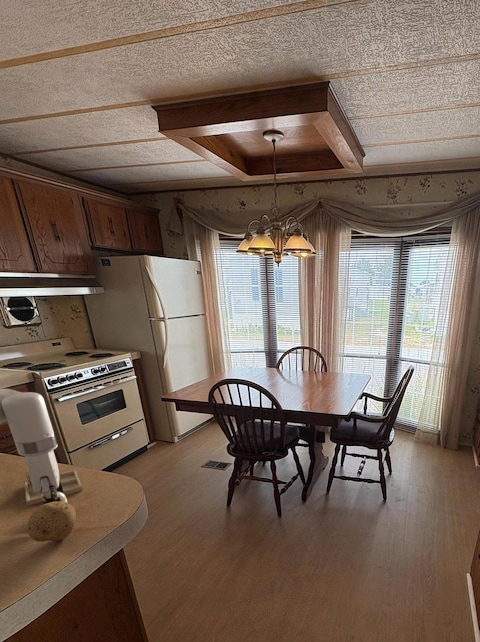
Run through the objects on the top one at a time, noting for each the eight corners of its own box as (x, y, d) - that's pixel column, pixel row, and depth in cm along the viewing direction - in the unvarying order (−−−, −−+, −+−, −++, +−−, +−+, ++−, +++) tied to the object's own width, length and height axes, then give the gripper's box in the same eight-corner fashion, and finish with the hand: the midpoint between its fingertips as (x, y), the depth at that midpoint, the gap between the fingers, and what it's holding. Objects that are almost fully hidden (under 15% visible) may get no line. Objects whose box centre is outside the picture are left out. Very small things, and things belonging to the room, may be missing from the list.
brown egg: (27, 491, 99) (20, 472, 96) (35, 484, 103) (29, 465, 100) (45, 490, 100) (38, 471, 97) (52, 482, 104) (46, 464, 101)
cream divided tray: (28, 506, 93) (26, 501, 92) (25, 487, 101) (24, 482, 101) (83, 491, 100) (81, 486, 100) (76, 474, 109) (75, 469, 109)
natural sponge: (49, 558, 76) (36, 521, 72) (25, 546, 79) (11, 510, 75) (89, 534, 83) (79, 499, 80) (66, 524, 87) (55, 490, 83)
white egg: (53, 520, 88) (46, 499, 85) (47, 514, 90) (40, 493, 88) (72, 513, 91) (66, 492, 88) (67, 506, 93) (60, 486, 91)
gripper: (20, 434, 87) (39, 492, 94) (12, 461, 74) (35, 525, 81) (56, 429, 91) (73, 484, 98) (55, 453, 78) (74, 515, 85)
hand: (56, 503), depth 89 cm, fingers open, 9 cm apart
